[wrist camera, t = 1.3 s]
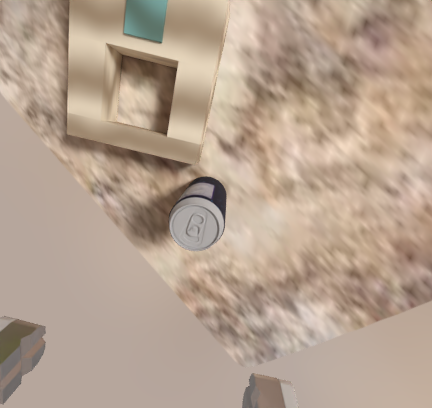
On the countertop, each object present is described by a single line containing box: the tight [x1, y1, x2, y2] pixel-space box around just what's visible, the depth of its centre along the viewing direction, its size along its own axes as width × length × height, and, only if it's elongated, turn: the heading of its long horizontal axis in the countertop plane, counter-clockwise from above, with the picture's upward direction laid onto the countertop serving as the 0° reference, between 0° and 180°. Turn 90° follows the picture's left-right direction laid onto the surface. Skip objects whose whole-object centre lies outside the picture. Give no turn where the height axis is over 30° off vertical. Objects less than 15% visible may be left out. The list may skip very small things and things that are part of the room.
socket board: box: [67, 0, 230, 165], centre depth 27 cm, size 17×16×4 cm
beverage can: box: [169, 177, 226, 251], centre depth 27 cm, size 6×6×12 cm
